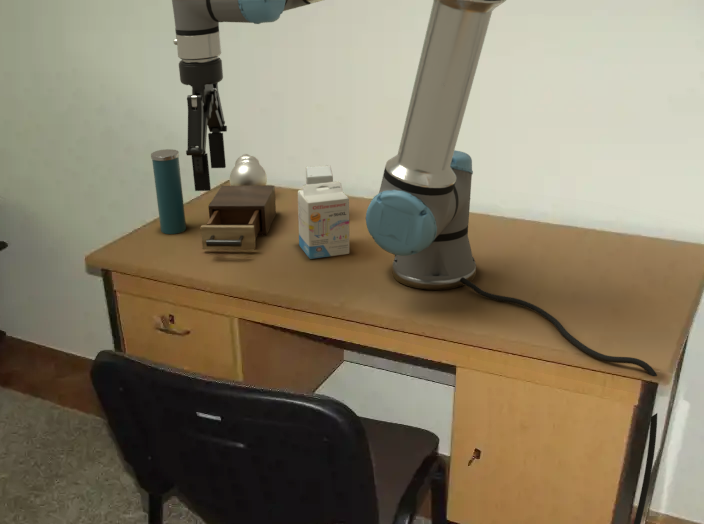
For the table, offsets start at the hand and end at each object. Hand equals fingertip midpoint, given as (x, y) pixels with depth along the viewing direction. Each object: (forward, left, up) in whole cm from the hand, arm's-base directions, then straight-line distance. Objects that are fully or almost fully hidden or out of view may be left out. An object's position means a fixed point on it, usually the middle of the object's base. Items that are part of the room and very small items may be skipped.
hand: (211, 178), depth 163 cm
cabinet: (+17, -19, -19) cm, 32 cm away
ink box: (-7, -22, -19) cm, 29 cm away
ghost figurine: (+31, -32, -19) cm, 48 cm away
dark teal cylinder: (+27, -7, -19) cm, 33 cm away
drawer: (+9, -10, -18) cm, 22 cm away
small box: (+8, -34, -19) cm, 39 cm away
